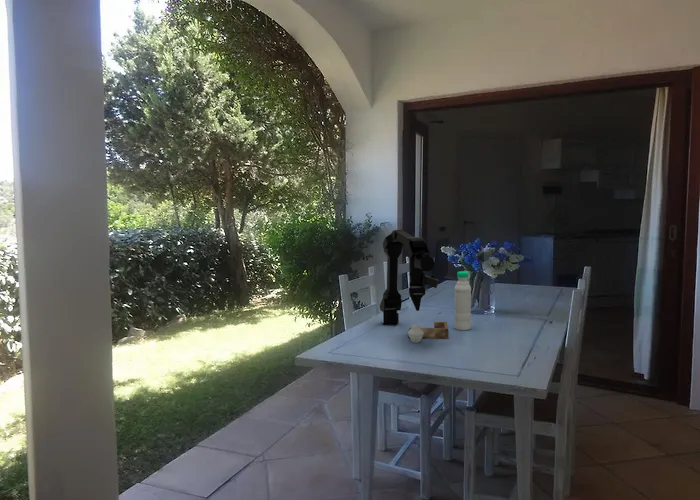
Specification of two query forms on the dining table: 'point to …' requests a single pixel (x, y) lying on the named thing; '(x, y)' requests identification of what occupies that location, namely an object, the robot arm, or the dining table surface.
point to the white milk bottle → (462, 302)
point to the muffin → (415, 333)
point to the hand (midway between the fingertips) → (417, 308)
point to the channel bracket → (436, 331)
